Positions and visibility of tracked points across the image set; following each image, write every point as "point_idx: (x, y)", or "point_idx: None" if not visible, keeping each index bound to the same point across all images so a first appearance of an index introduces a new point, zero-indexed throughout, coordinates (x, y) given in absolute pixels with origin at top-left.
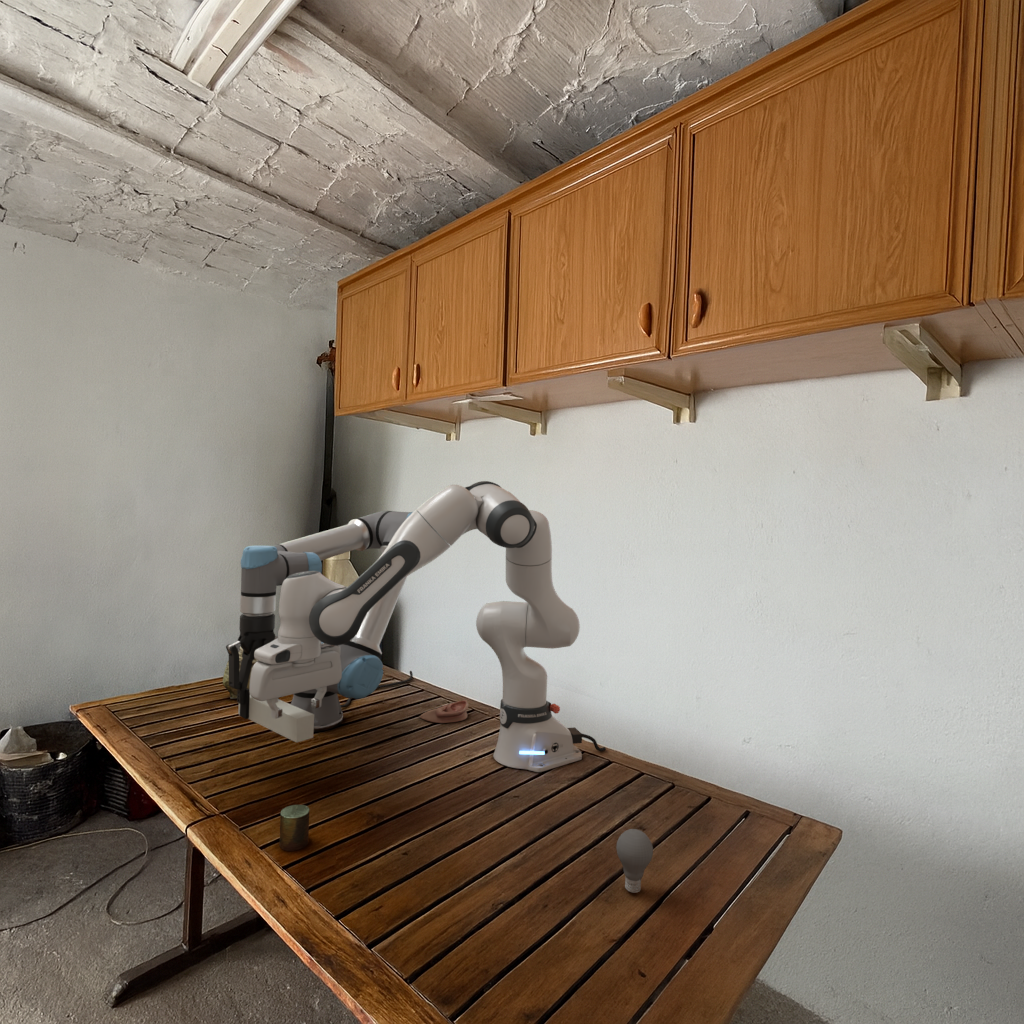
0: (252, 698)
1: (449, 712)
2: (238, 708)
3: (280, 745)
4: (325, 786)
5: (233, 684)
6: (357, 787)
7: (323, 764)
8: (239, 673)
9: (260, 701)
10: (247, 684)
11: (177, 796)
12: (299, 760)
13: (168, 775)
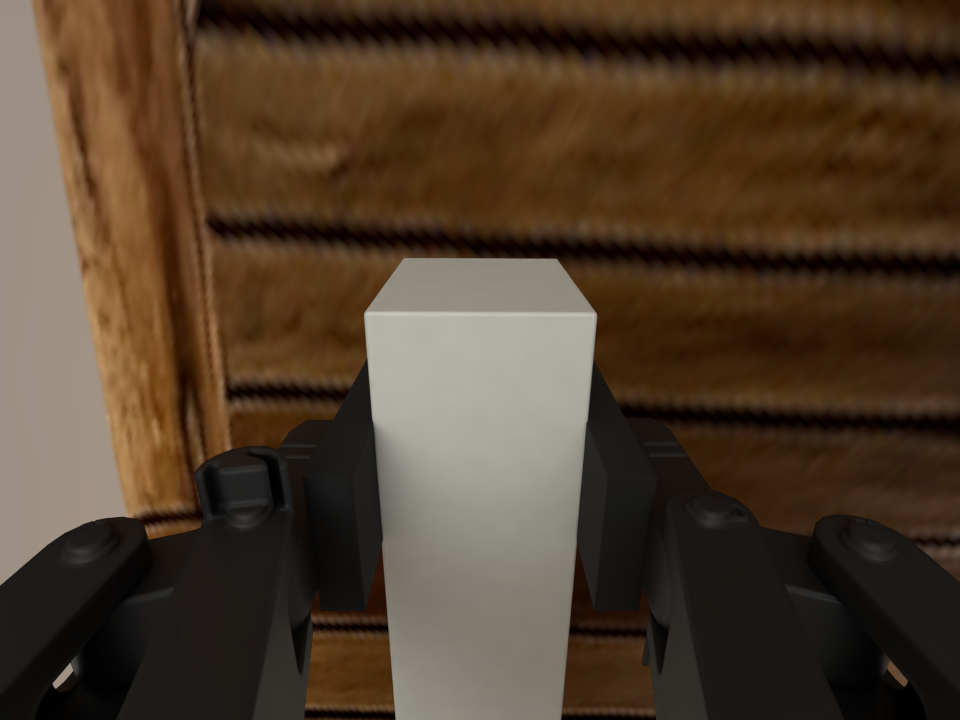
0: (388, 582)
1: None
2: (396, 270)
3: (745, 111)
4: (579, 582)
5: (64, 692)
6: (641, 644)
7: (704, 445)
8: (129, 712)
9: (403, 686)
10: (306, 674)
11: (141, 312)
12: (671, 347)
13: (149, 62)
